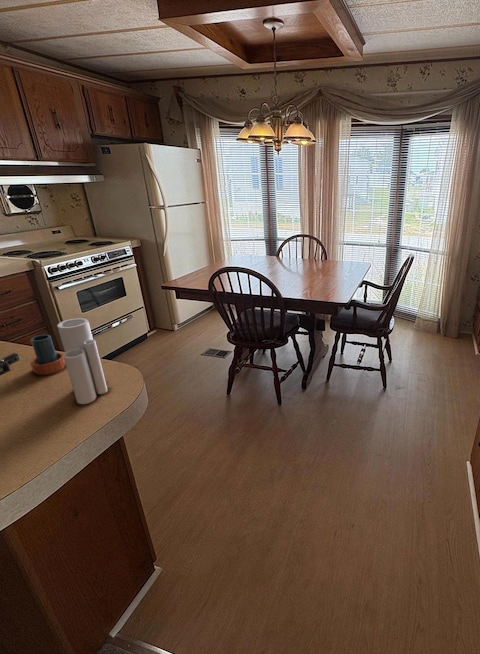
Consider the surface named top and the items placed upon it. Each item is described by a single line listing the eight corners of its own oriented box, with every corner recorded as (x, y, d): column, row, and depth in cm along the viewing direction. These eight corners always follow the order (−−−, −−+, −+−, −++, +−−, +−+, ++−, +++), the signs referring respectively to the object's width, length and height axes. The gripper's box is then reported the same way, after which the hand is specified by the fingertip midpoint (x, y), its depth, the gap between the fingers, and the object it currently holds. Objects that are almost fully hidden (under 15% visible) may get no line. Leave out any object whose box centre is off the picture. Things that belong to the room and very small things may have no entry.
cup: (48, 372, 102) (38, 342, 98) (36, 369, 103) (26, 339, 100) (63, 364, 106) (54, 335, 103) (51, 362, 108) (42, 333, 104)
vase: (75, 385, 97) (56, 321, 90) (104, 378, 101) (89, 316, 94) (77, 406, 89) (56, 337, 81) (109, 397, 93) (92, 330, 85)
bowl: (42, 378, 100) (39, 367, 99) (28, 370, 104) (24, 360, 102) (71, 366, 107) (68, 356, 106) (57, 359, 110) (54, 350, 109)
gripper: (-48, 377, 74) (22, 344, 89) (-105, 370, 75) (-26, 339, 90) (-35, 406, 77) (31, 369, 92) (-90, 398, 78) (-16, 364, 93)
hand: (2, 354), depth 91 cm, fingers open, 8 cm apart
